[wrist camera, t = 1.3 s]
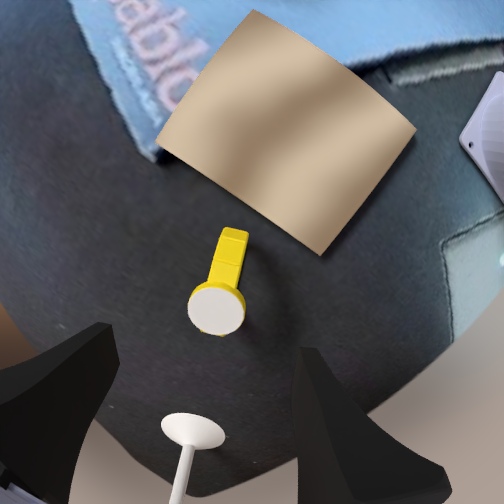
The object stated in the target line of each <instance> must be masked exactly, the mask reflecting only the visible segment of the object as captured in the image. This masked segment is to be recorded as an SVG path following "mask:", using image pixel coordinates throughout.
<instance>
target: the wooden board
mask: <svg viewBox="0 0 504 504" xmlns="http://www.w3.org/2000/svg"><path fill="white" fill-rule="evenodd" d="M416 130H417V129H416V128H415V127H414V126H413V125H412V124H411V123H410V122H409V121H408V120H407V119H406V118H405V117H404V116H403V115H402V114H400V113H399V112H398V111H397V110H396V109H395V108H394V107H393V106H392V105H391V104H390V103H388V102H387V101H386V100H385V99H384V98H383V97H382V96H381V95H379V94H378V93H377V92H376V91H375V90H374V89H372V88H371V87H370V86H369V85H368V84H366V83H365V82H364V81H363V80H361V79H360V78H359V77H358V76H356V75H355V74H354V73H353V72H351V71H350V70H349V69H347V68H346V67H345V66H343V65H342V64H341V63H339V62H338V61H337V60H335V59H334V58H332V57H331V56H330V55H328V54H327V53H325V52H324V51H322V50H321V49H320V48H318V47H317V46H315V45H314V44H312V43H311V42H309V41H307V40H306V39H304V38H303V37H301V36H300V35H298V34H296V33H295V32H293V31H292V30H290V29H288V28H287V27H285V26H283V25H281V24H280V23H278V22H276V21H274V20H273V19H271V18H269V17H267V16H265V15H264V14H262V13H260V12H258V11H256V10H254V9H253V10H252V11H251V12H250V13H249V14H248V15H247V16H246V17H245V19H244V20H243V21H242V22H241V23H240V24H239V25H238V27H237V28H236V29H235V30H234V31H233V32H232V34H231V35H230V36H229V37H228V38H227V40H226V41H225V42H224V43H223V45H222V46H221V47H220V48H219V50H218V51H217V52H216V53H215V55H214V56H213V57H212V59H211V60H210V61H209V62H208V64H207V65H206V66H205V68H204V69H203V70H202V72H201V73H200V74H199V76H198V77H197V79H196V80H195V81H194V83H193V84H192V86H191V87H190V88H189V90H188V91H187V93H186V94H185V96H184V97H183V98H182V100H181V101H180V103H179V104H178V106H177V107H176V109H175V110H174V112H173V113H172V115H171V116H170V118H169V120H168V121H167V123H166V124H165V126H164V127H163V129H162V131H161V132H160V134H159V135H158V137H157V139H156V140H155V143H156V144H158V145H160V146H161V147H163V148H164V149H166V150H167V151H169V152H170V153H172V154H173V155H175V156H177V157H178V158H180V159H181V160H183V161H184V162H186V163H187V164H189V165H190V166H192V167H193V168H195V169H196V170H198V171H199V172H201V173H202V174H204V175H205V176H207V177H208V178H210V179H211V180H213V181H214V182H216V183H217V184H219V185H220V186H222V187H223V188H225V189H226V190H227V191H229V192H230V193H232V194H233V195H235V196H236V197H238V198H239V199H241V200H242V201H243V202H245V203H246V204H248V205H249V206H251V207H252V208H254V209H255V210H256V211H258V212H259V213H261V214H262V215H264V216H265V217H266V218H268V219H269V220H271V221H272V222H274V223H275V224H276V225H278V226H279V227H281V228H282V229H283V230H285V231H286V232H288V233H289V234H290V235H292V236H293V237H295V238H296V239H297V240H299V241H300V242H302V243H303V244H304V245H306V246H307V247H309V248H310V249H311V250H313V251H314V252H315V253H317V254H318V255H320V256H321V254H322V253H323V252H324V251H325V250H326V248H327V247H328V246H329V245H330V243H331V242H332V241H333V240H334V239H335V237H336V236H337V235H338V234H339V232H340V231H341V230H342V229H343V227H344V226H345V225H346V224H347V222H348V221H349V220H350V219H351V217H352V216H353V215H354V213H355V212H356V211H357V210H358V208H359V207H360V206H361V205H362V203H363V202H364V201H365V199H366V198H367V197H368V195H369V194H370V193H371V192H372V190H373V189H374V188H375V186H376V185H377V184H378V182H379V181H380V180H381V178H382V177H383V176H384V174H385V173H386V172H387V170H388V169H389V168H390V166H391V165H392V164H393V162H394V161H395V159H396V158H397V157H398V155H399V154H400V153H401V151H402V150H403V148H404V147H405V146H406V144H407V143H408V141H409V140H410V139H411V137H412V136H413V134H414V133H415V132H416Z"/></svg>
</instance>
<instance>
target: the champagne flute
mask: <svg viewBox="0 0 504 504" xmlns="http://www.w3.org/2000/svg"><path fill="white" fill-rule="evenodd" d="M161 427H162V430H163V431H164V433H165V434H166V435H167V436H168V437H169V438H170V439H172V440H173V441H175V442H177V443H178V444H180V445H181V446H183V449H182V453H181V457H180V461H179V465H178V469H177V473H176V477H175V481H174V485H173V489H172V493H171V497H170V501H169V504H183V501H184V497H185V492H186V487H187V483H188V478H189V474H190V469H191V464H192V460H193V455H194V451H195V449H210V448H215V447H217V446H219V445H221V444H222V443H223V442H224V440H225V433H224V431H223V430H222V429H221V427H220V426H218V425H217V424H216V423H214V422H213V421H211V420H209V419H207V418H204V417H201V416H198V415H194V414H188V413H175V414H171V415H168V416H166V417H165V418H164V419H163V420H162V422H161Z"/></svg>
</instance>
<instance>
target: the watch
mask: <svg viewBox="0 0 504 504" xmlns="http://www.w3.org/2000/svg"><path fill="white" fill-rule="evenodd" d="M248 236H249V233H248V232H245V231H241V230H237V229H232V228H228V227H225V228H224V229H223V231H222V234H221V236H220V239H219V242H218V245H217V248H216V251H215V255H214V258H213V262H212V266H211V270H210V274H209V278H208V282H205V283H203V284H201V285H199V286H198V287H197V288H196V289H195V290H194V291H193V293H192V295H191V297H190V299H189V302H188V314H189V317H190V319H191V321H192V322H193V323H194V324H195V326H196V327H198V328H199V329H200V330H201V332H205V333H209V334H214V335H218V336H222V337H223V336H225V334H228V333H231V332H233V331H235V330H236V329H237V328H239V327H240V326H241V324H242V322H243V320H244V318H245V311H246V304H245V300H244V297H243V296H242V294H241V293H240V292H239V290H237V289H236V288H237V284H238V280H239V276H240V271H241V267H242V263H243V259H244V254H245V250H246V245H247V241H248Z"/></svg>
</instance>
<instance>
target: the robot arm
mask: <svg viewBox="0 0 504 504" xmlns="http://www.w3.org/2000/svg"><path fill="white" fill-rule="evenodd" d="M459 141H460V144H461V145H462V147H463V148H464V149H465V150H466V152H467V153H468V154H469V155H470V157H471V158H472V159H473V161H474V162H475V163H476V164H477V166H478V167H479V169H480V170H481V171H482V173H483V174H484V175H485V177H486V178H487V180H488V181H489V182H490V184H491V185H492V187H493V188H494V190H495V191H496V193H497V194H498V196H499V197H500V199H501V201H502V202H503V204H504V73H503V72H501V71H500V72H497V73H496V74H495V76H494V78H493V80H492V82H491V84H490V85H489V87H488V89H487V91H486V93H485V94H484V96H483V98H482V100H481V101H480V103H479V105H478V107H477V108H476V110H475V112H474V113H473V115H472V117H471V118H470V120H469V122H468V123H467V125H466V127H465V128H464V130H463V131H462V133H461V135H460V137H459ZM469 142H470V143H471V148H469ZM119 365H120V362H119V357H118V353H117V349H116V344H115V339H114V335H113V330H112V325H111V324H106V323H101V322H98V323H96V324H94V325H92V326H90V327H88V328H86V329H85V330H83V331H81V332H79V333H78V334H76V335H74V336H73V337H71V338H69V339H67V340H66V341H64V342H62V343H61V344H59V345H57V346H55V347H53V348H51V349H50V350H48V351H46V352H44V353H42V354H40V355H38V356H36V357H34V358H32V359H30V360H28V361H25V362H22V363H20V364H17V365H15V366H12V367H8V368H5V369H2V370H0V504H68V502H69V495H70V488H71V483H72V479H73V475H74V470H75V466H76V463H77V459H78V456H79V453H80V450H81V446H82V444H83V441H84V438H85V436H86V433H87V431H88V428H89V426H90V424H91V422H92V420H93V418H94V417H95V415H96V413H97V411H98V409H99V407H100V406H101V404H102V402H103V400H104V398H105V396H106V395H107V393H108V391H109V389H110V387H111V385H112V383H113V381H114V378H115V376H116V373H117V370H118V368H119ZM291 411H292V419H293V427H294V434H295V442H296V450H297V459H298V504H442V503H444V502H445V501H446V500H447V499H448V498H449V496H450V495H451V493H452V488H451V485H450V482H449V479H448V476H447V474H446V472H445V470H444V468H443V467H442V466H440V465H438V464H436V463H434V462H432V461H430V460H428V459H426V458H424V457H422V456H420V455H418V454H417V453H415V452H413V451H412V450H410V449H409V448H407V447H405V446H404V445H402V444H401V443H399V442H398V441H397V440H395V439H394V438H393V437H392V436H390V435H389V434H388V433H386V432H385V431H384V430H382V429H381V428H380V427H379V426H378V425H377V424H376V423H375V422H373V421H372V420H371V419H370V418H369V417H368V416H367V415H366V414H365V413H364V412H363V411H362V410H361V408H360V407H359V406H358V405H357V404H356V403H355V402H354V400H353V399H352V398H351V397H350V396H349V394H348V393H347V392H346V391H345V389H344V388H343V387H342V385H341V384H340V383H339V381H338V380H337V379H336V377H335V376H334V374H333V373H332V371H331V370H330V368H329V367H328V365H327V364H326V362H325V361H324V359H323V358H322V356H321V354H320V353H319V351H318V350H317V349H316V348H305V347H300V348H299V352H298V357H297V362H296V367H295V371H294V376H293V380H292V385H291Z"/></svg>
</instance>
